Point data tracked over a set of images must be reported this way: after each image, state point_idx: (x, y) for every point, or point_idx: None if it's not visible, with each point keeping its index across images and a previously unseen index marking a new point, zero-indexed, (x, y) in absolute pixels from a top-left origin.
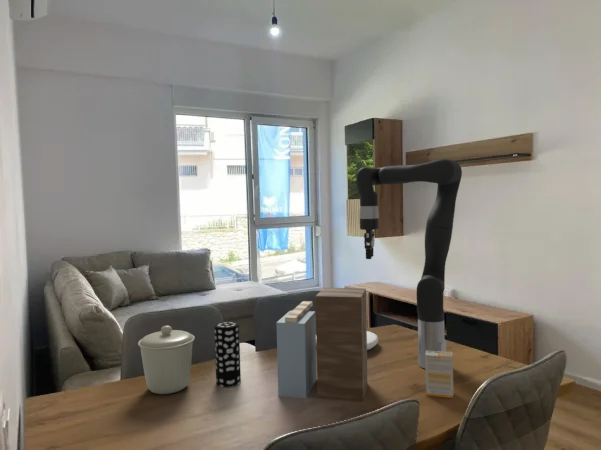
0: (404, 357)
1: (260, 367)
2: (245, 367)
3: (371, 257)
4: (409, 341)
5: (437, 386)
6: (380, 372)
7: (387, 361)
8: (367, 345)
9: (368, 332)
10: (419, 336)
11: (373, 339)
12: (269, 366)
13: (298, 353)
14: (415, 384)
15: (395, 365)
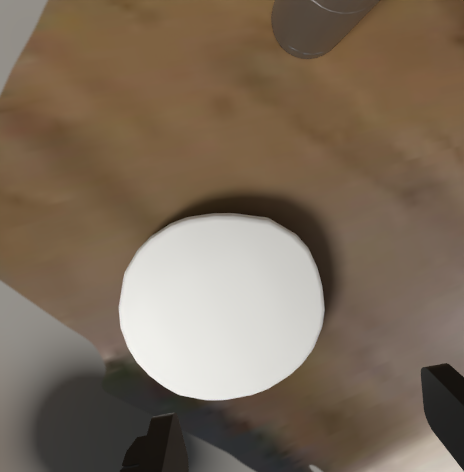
0: (262, 113)
1: None
2: None
3: (446, 370)
4: (100, 131)
5: None
6: (401, 149)
7: (312, 152)
8: (280, 225)
9: (164, 258)
10: (362, 16)
11: (232, 221)
12: None
13: None
14: (460, 39)
15: (337, 123)
